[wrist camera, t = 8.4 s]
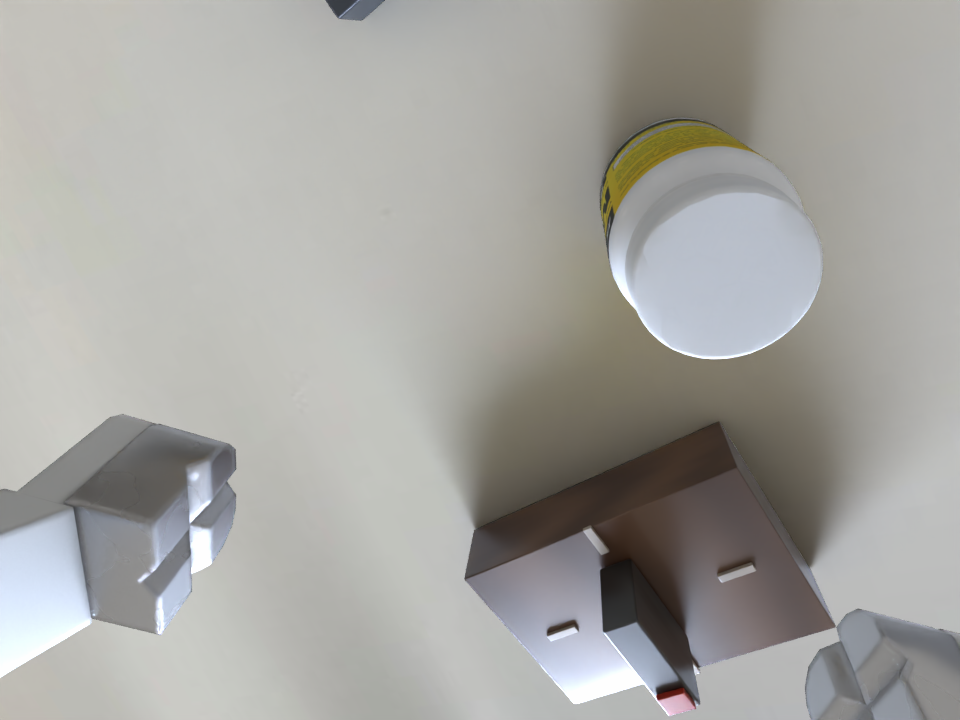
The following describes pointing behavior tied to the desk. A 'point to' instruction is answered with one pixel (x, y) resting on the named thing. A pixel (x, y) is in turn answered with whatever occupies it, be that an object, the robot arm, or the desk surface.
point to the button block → (353, 8)
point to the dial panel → (648, 564)
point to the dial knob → (648, 637)
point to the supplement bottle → (707, 240)
